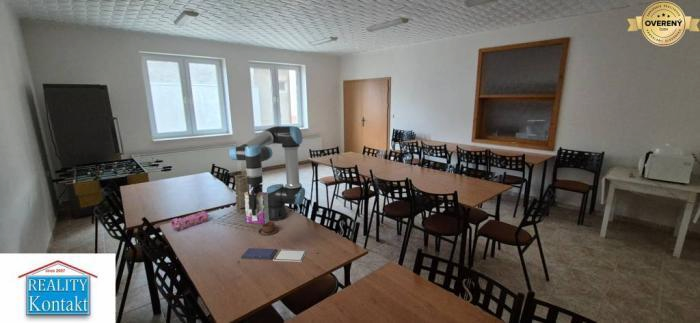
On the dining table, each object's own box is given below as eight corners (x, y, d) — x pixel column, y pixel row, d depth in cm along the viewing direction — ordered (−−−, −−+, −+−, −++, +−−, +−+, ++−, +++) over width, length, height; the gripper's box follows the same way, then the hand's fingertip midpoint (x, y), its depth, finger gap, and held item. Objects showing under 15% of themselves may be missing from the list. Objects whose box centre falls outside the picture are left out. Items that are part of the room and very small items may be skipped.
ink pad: (249, 249, 162) (248, 247, 162) (277, 250, 161) (276, 248, 161) (241, 258, 152) (240, 256, 152) (270, 259, 151) (270, 257, 151)
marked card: (280, 249, 162) (280, 249, 162) (306, 250, 161) (306, 250, 160) (272, 260, 150) (272, 260, 150) (301, 261, 149) (301, 261, 149)
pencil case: (177, 234, 183) (175, 220, 182) (170, 230, 189) (169, 217, 187) (210, 223, 200) (209, 211, 199) (203, 220, 206) (202, 208, 204)
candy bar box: (245, 223, 152) (243, 193, 150) (250, 219, 157) (249, 190, 154) (264, 225, 150) (263, 194, 147) (269, 221, 154) (268, 191, 152)
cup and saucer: (276, 228, 192) (276, 219, 191) (279, 235, 181) (279, 225, 180) (258, 230, 188) (257, 221, 187) (259, 238, 177) (258, 228, 176)
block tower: (241, 216, 214) (239, 177, 208) (236, 213, 219) (233, 175, 214) (251, 213, 219) (249, 175, 214) (246, 210, 225) (243, 173, 220)
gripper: (254, 171, 158) (257, 212, 163) (239, 179, 140) (242, 225, 144) (268, 171, 158) (270, 212, 162) (254, 180, 140) (257, 225, 144)
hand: (257, 218), depth 153 cm, fingers closed on candy bar box, 5 cm apart
